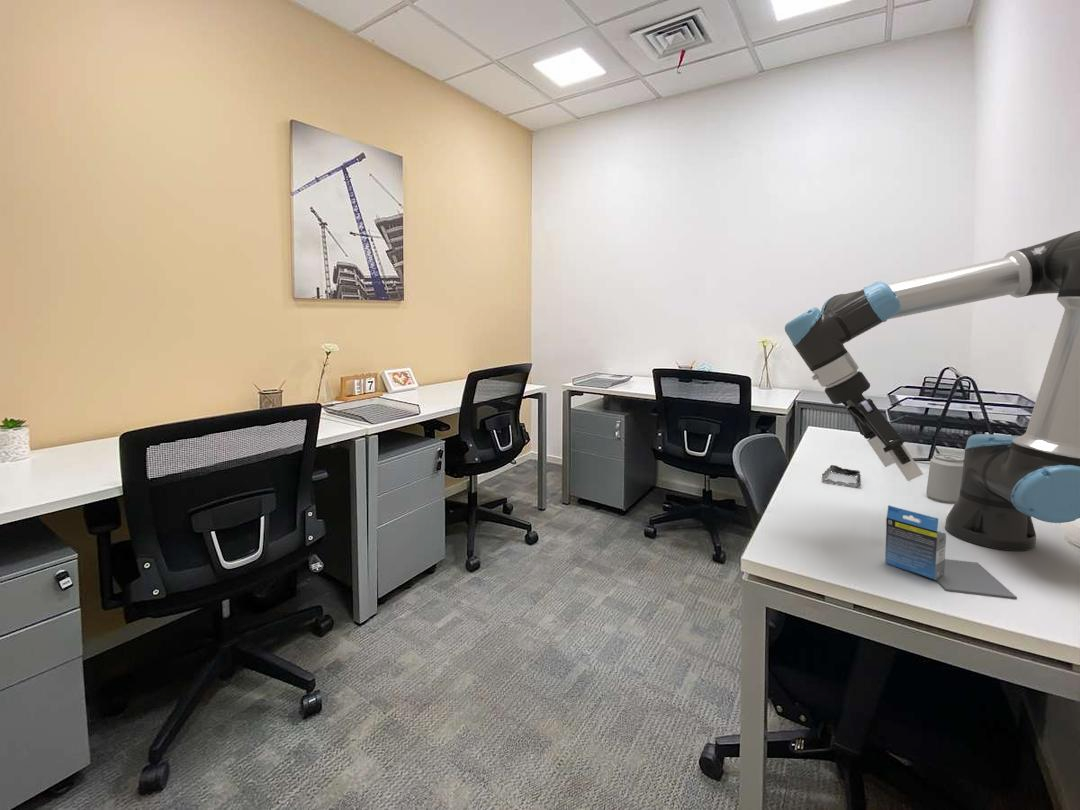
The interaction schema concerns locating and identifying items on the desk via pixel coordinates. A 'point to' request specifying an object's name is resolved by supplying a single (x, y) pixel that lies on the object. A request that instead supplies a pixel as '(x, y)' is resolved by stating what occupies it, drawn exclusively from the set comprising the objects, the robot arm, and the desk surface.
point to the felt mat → (971, 580)
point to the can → (945, 478)
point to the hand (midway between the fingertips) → (902, 470)
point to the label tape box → (914, 543)
